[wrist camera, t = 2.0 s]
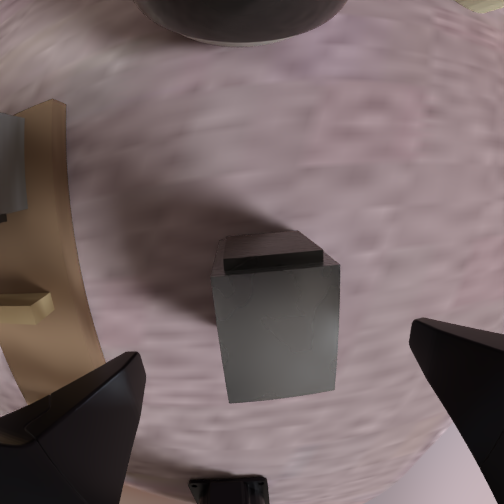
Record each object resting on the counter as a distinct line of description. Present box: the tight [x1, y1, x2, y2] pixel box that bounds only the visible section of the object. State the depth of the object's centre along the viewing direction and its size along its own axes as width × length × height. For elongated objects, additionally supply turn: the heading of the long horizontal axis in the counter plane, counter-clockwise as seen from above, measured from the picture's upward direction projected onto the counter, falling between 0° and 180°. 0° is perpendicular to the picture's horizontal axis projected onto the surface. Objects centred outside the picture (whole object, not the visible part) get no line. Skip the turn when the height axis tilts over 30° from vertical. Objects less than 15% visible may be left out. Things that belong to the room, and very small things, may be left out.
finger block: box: [211, 231, 340, 403], centre depth 12 cm, size 5×4×6 cm
